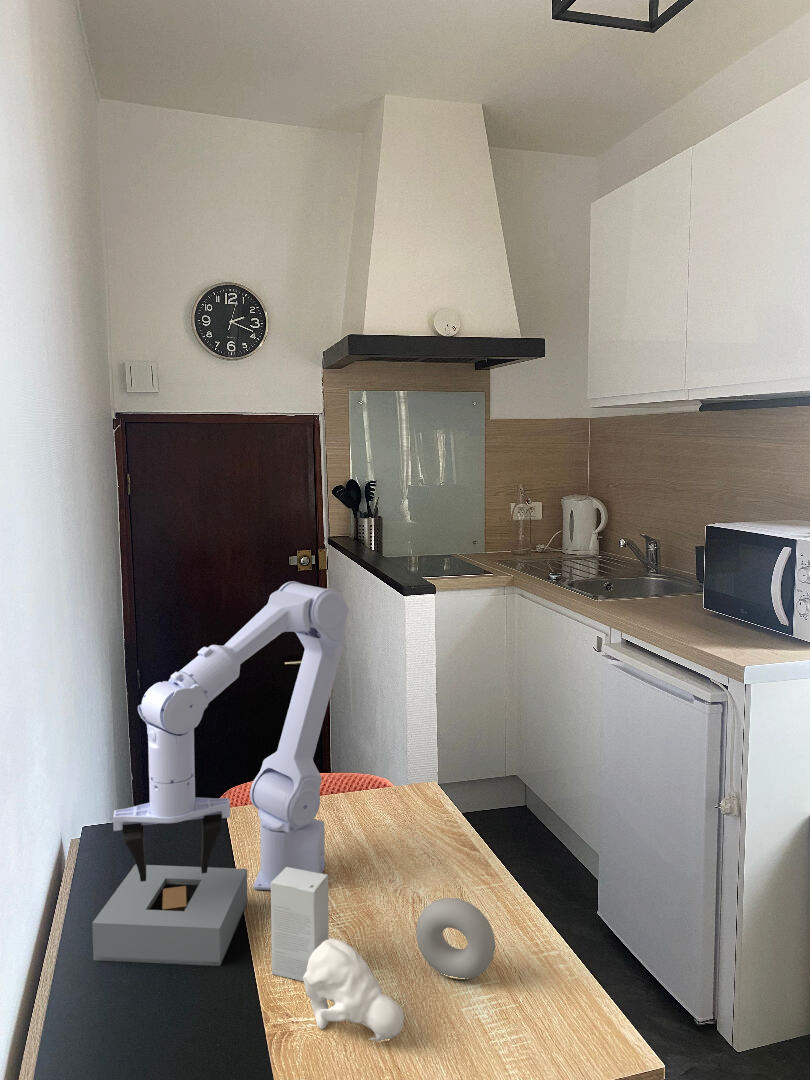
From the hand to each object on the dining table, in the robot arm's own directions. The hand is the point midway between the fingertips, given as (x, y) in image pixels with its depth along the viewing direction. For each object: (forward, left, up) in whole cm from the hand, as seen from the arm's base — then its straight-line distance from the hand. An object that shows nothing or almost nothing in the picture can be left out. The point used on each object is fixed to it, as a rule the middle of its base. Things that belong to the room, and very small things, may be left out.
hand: (174, 873), depth 106 cm
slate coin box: (0, 0, -8) cm, 8 cm away
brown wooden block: (0, 0, -7) cm, 7 cm away
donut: (-37, +7, -8) cm, 39 cm away
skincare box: (-18, +7, -8) cm, 21 cm away
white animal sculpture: (-26, +16, -8) cm, 32 cm away
